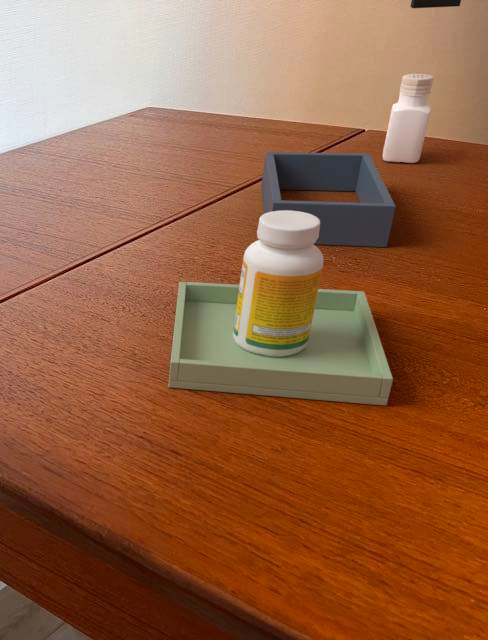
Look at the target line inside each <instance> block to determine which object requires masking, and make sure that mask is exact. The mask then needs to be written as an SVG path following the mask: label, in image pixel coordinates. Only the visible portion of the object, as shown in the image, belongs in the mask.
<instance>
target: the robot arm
mask: <svg viewBox="0 0 488 640" xmlns="http://www.w3.org/2000/svg"><path fill="white" fill-rule="evenodd" d="M461 2H462V0H411V2H410V8H411V9H429V8H430V9H431V8H450V7H453V8H454V7H460V6H461Z"/></svg>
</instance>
